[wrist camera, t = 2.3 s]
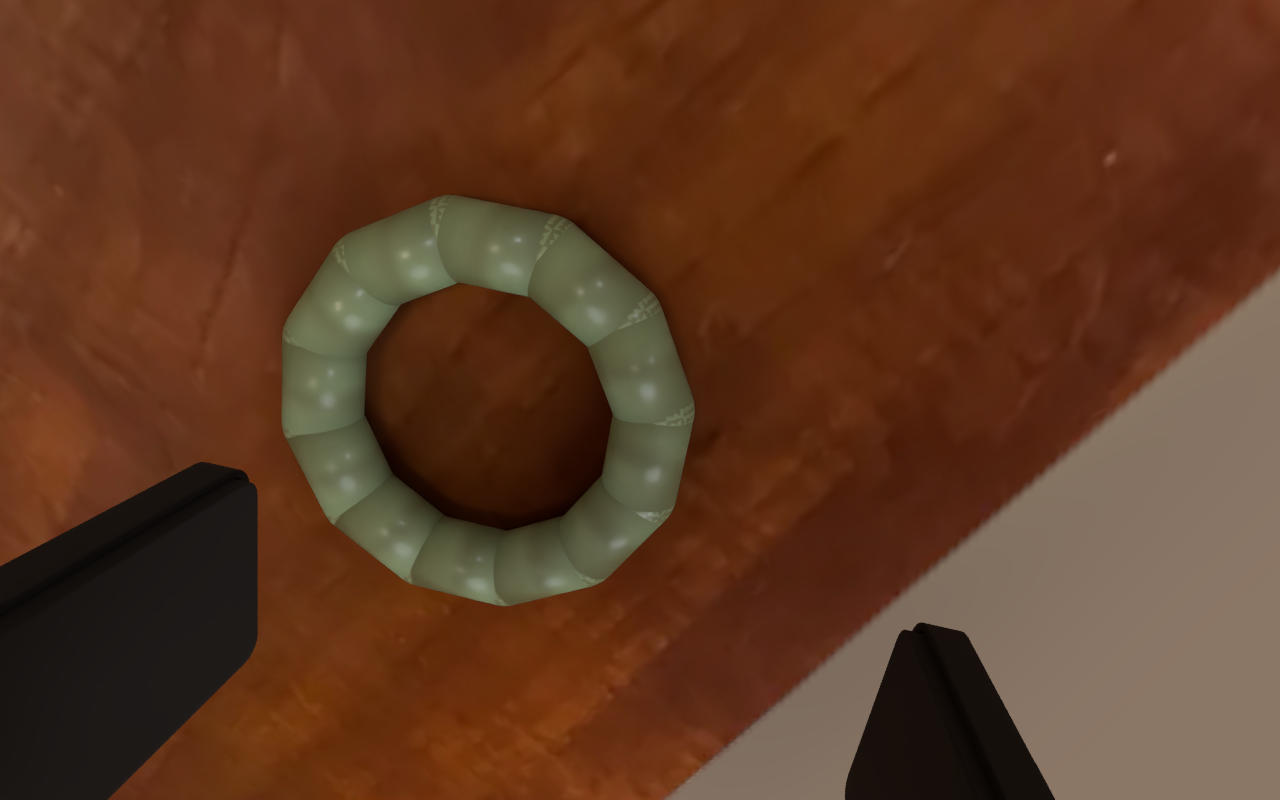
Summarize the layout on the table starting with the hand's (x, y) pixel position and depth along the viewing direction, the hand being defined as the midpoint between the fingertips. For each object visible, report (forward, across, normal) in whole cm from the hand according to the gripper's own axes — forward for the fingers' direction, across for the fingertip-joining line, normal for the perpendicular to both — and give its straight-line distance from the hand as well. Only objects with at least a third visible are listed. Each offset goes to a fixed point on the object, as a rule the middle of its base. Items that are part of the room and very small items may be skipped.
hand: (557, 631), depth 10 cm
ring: (+6, +3, 0) cm, 7 cm away
